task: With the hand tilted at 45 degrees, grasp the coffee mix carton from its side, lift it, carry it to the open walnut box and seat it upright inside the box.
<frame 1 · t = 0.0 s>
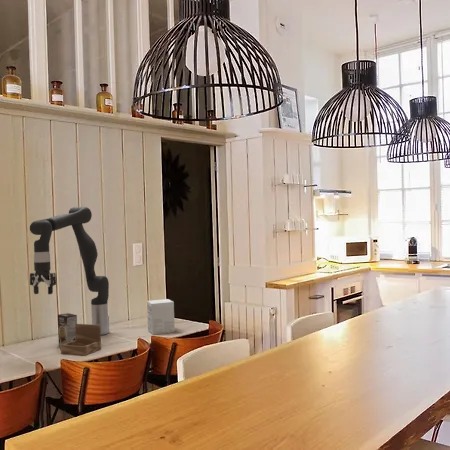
hand: (43, 294, 240), 29 cm above the table, tool pointing down, fingers open, 8 cm apart
open walnut box: (80, 351, 242), on the table
coffee box: (68, 345, 256), on the table
supplement box: (161, 331, 283), on the table
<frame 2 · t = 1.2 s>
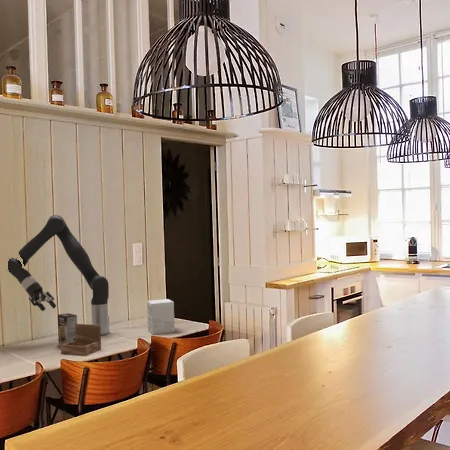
hand: (49, 308, 260), 19 cm above the table, tool tilted 45°, fingers open, 8 cm apart
nothing on the table moved.
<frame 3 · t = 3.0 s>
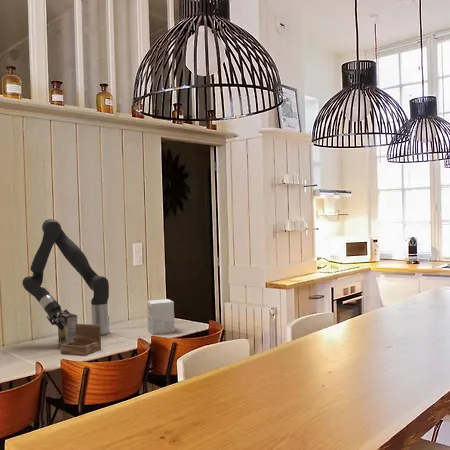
hand: (68, 327, 256), 9 cm above the table, tool tilted 45°, fingers open, 8 cm apart
coffee box: (68, 345, 256), on the table, touching gripper
everything else where it was.
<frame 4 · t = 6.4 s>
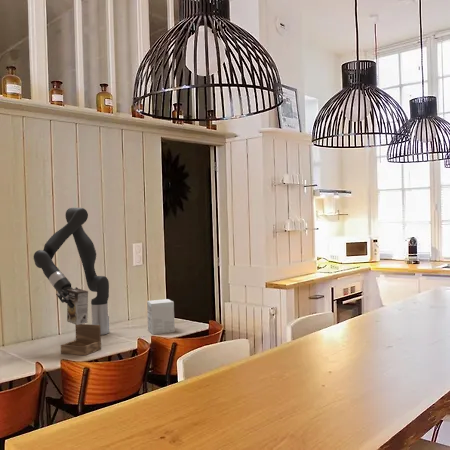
hand: (78, 305, 242), 23 cm above the table, tool tilted 45°, fingers closed on coffee box, 8 cm apart
coffee box: (77, 322, 243), point 14 cm above the table, touching gripper
everything else where it was.
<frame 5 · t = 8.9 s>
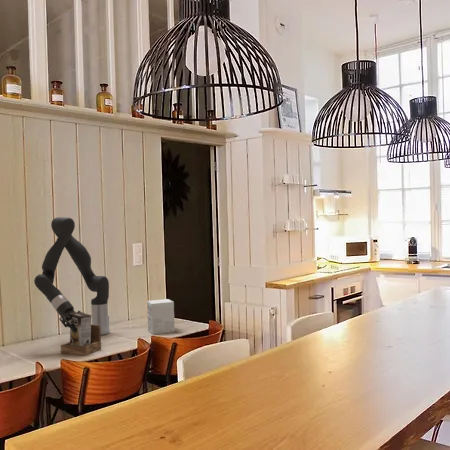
hand: (81, 329, 242), 11 cm above the table, tool tilted 45°, fingers closed on coffee box, 8 cm apart
coffee box: (80, 346, 242), point 2 cm above the table, touching gripper
everything else where it was.
when the fingers open (11 cm above the table, at t = 9.5 s): coffee box drops 2 cm, resting on open walnut box.
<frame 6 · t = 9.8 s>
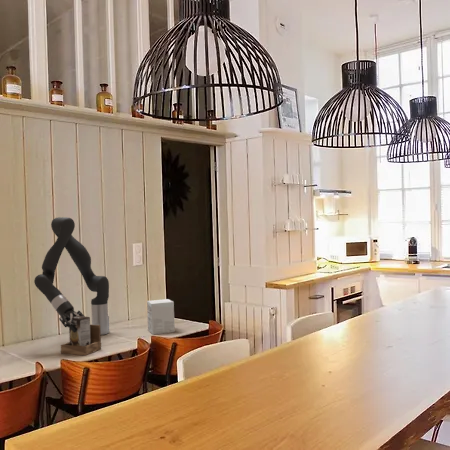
hand: (81, 329, 241), 11 cm above the table, tool tilted 45°, fingers open, 8 cm apart
coffee box: (80, 349, 242), point 1 cm above the table, touching gripper, open walnut box
everything else where it was.
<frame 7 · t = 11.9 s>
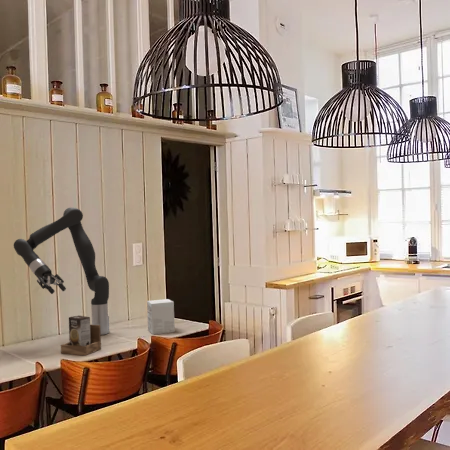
hand: (59, 291, 251), 29 cm above the table, tool tilted 45°, fingers open, 8 cm apart
coffee box: (80, 349, 242), point 1 cm above the table, touching open walnut box
everything else where it was.
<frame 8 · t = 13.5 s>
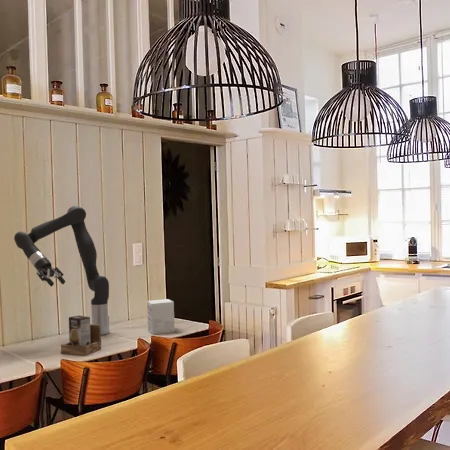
hand: (58, 284, 252), 33 cm above the table, tool tilted 45°, fingers open, 8 cm apart
nothing on the table moved.
at the end: coffee box inside the target area on the open walnut box (0.1 cm from its centre), point 0.8 cm above the open walnut box's base; coffee box tilted 0°; the gripper is holding nothing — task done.
